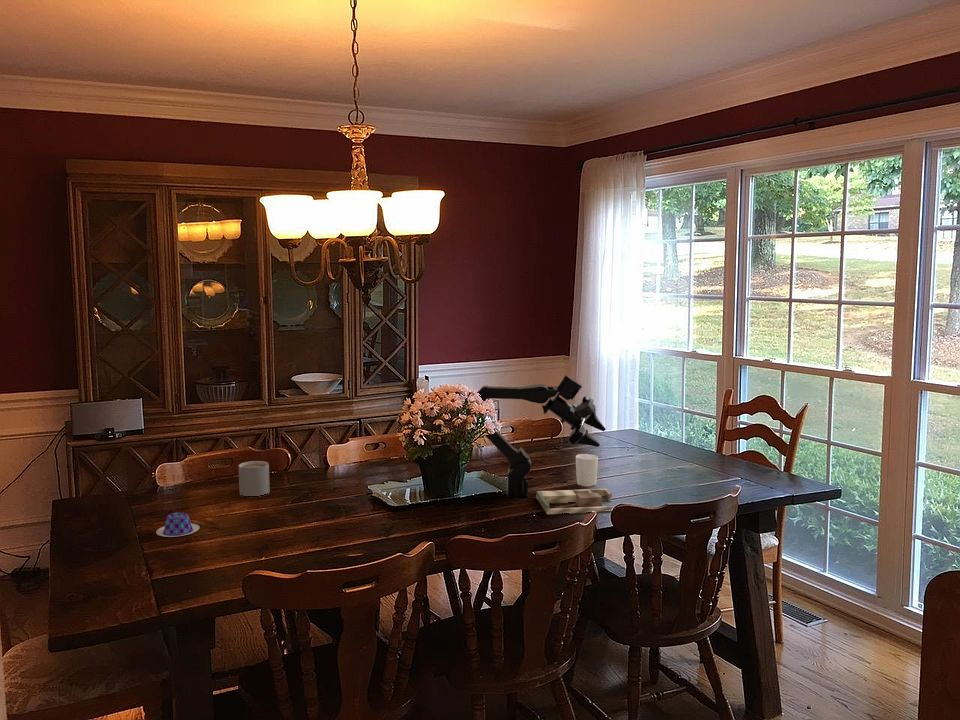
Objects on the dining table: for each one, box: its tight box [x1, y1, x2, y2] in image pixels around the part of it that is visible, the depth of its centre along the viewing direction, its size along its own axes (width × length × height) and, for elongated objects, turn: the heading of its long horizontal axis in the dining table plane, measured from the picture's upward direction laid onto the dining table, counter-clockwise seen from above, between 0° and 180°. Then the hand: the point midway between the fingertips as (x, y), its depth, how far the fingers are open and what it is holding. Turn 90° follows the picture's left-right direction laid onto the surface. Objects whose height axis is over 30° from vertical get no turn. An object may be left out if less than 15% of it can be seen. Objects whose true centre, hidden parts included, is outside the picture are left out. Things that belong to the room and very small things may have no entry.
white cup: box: [575, 453, 599, 487], centre depth 282 cm, size 8×8×10 cm
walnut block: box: [575, 493, 603, 508], centre depth 256 cm, size 7×5×4 cm
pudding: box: [155, 512, 200, 538], centre depth 234 cm, size 12×12×5 cm
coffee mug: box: [238, 460, 271, 497], centre depth 274 cm, size 13×10×10 cm
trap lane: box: [536, 488, 615, 515], centre depth 258 cm, size 24×17×2 cm
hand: (602, 437), depth 265 cm, fingers open, 9 cm apart
